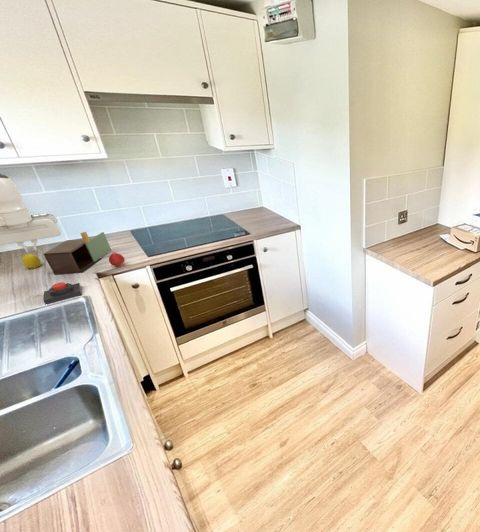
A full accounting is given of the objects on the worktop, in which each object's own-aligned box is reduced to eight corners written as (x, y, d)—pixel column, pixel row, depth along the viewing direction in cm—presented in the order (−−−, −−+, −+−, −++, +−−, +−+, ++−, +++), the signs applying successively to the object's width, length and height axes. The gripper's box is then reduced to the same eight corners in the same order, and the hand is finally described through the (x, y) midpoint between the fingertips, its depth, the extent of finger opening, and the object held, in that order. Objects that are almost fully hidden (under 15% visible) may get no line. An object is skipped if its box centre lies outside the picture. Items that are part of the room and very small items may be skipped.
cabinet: (82, 272, 152) (72, 251, 147) (54, 274, 150) (43, 253, 145) (102, 258, 166) (93, 238, 161) (76, 260, 164) (66, 240, 159)
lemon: (31, 267, 156) (22, 252, 152) (46, 265, 158) (38, 250, 154) (25, 272, 152) (16, 257, 148) (40, 270, 153) (32, 255, 150)
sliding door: (96, 261, 161) (83, 233, 154) (93, 262, 161) (79, 233, 154) (113, 249, 174) (101, 222, 167) (110, 249, 174) (98, 223, 167)
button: (53, 291, 131) (51, 288, 130) (53, 288, 133) (51, 284, 133) (66, 288, 133) (65, 284, 132) (66, 284, 136) (65, 281, 135)
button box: (45, 305, 129) (40, 296, 127) (46, 295, 135) (41, 287, 133) (82, 295, 135) (78, 287, 134) (81, 287, 141) (77, 279, 139)
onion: (112, 270, 155) (105, 255, 152) (111, 266, 159) (105, 251, 155) (127, 266, 159) (121, 252, 155) (126, 262, 162) (120, 248, 159)
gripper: (53, 210, 128) (68, 242, 135) (-26, 220, 116) (-6, 255, 122) (52, 214, 124) (68, 247, 131) (-30, 225, 112) (-8, 260, 118)
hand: (32, 251), depth 126 cm, fingers closed
